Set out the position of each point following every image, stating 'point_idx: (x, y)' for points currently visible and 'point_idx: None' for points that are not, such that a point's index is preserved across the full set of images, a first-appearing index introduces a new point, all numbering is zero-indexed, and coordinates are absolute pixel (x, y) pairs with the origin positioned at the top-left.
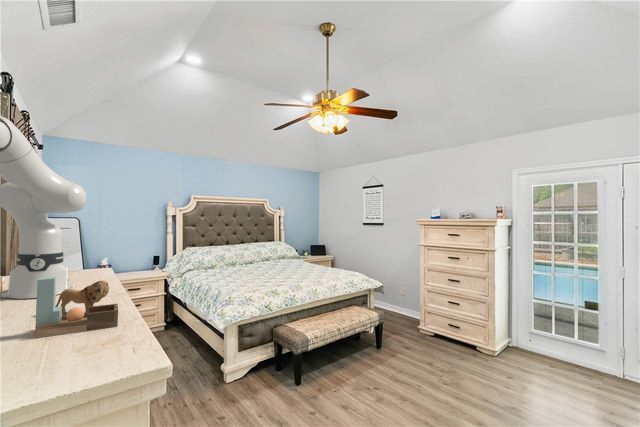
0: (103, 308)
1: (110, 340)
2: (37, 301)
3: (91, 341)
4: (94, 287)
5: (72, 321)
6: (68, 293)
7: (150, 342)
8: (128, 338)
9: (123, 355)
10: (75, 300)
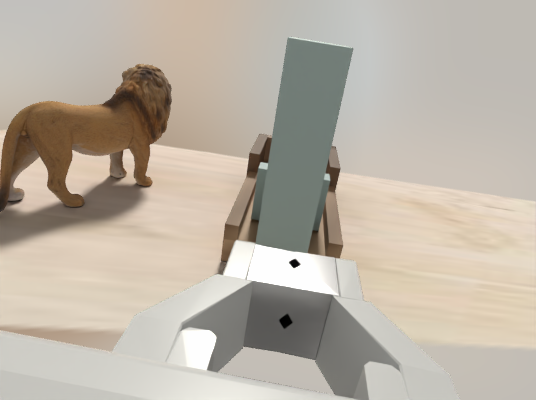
0: (263, 151)
1: (429, 211)
2: (329, 151)
3: (424, 225)
4: (159, 90)
5: (328, 198)
6: (74, 120)
7: (462, 191)
8: (426, 197)
9: (528, 220)
10: (104, 145)
